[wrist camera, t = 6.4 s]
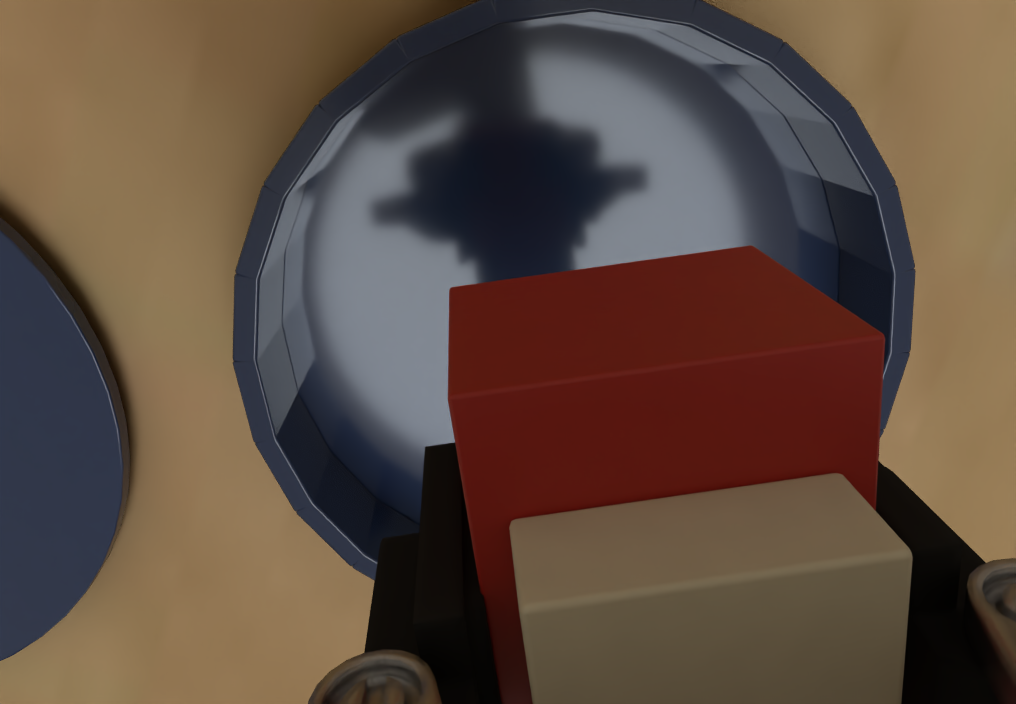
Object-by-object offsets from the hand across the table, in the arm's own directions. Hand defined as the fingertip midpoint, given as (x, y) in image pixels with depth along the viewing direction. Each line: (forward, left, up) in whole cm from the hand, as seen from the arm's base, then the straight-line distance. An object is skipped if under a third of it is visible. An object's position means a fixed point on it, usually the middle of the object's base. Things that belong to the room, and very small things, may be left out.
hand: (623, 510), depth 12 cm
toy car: (0, 0, -1) cm, 1 cm away
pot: (0, +1, -12) cm, 12 cm away
